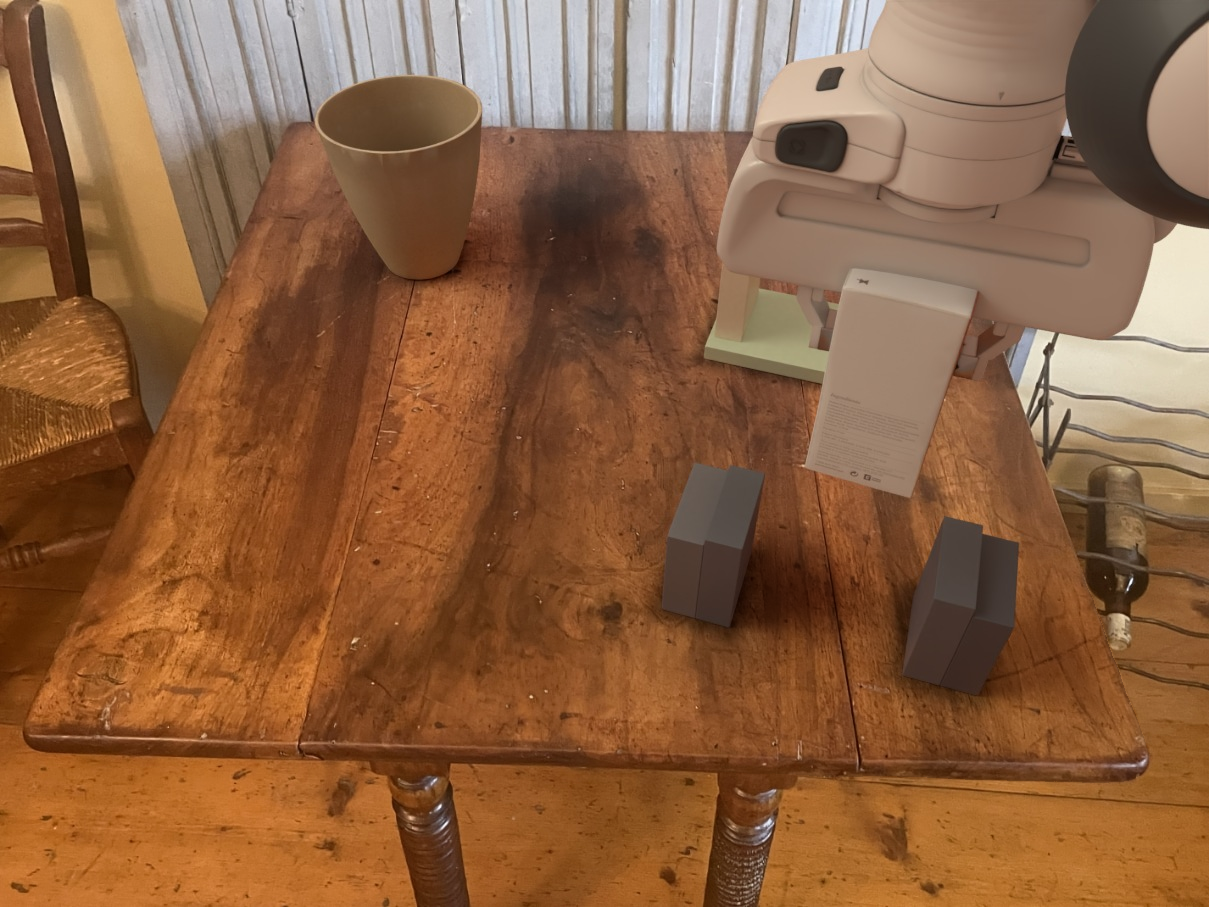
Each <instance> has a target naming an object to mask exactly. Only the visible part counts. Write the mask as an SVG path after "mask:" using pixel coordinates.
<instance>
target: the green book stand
mask: <svg viewBox="0 0 1209 907" xmlns="http://www.w3.org/2000/svg"><path fill="white" fill-rule="evenodd" d="M761 279H762V278H758V277H753V276H747V275H741V274H736V273H732V272H730V271H729V270H728V269H727V268H726V267H725V265H724V264H723V263H721V272H720V281H719V290H718V300H717V310H716V317H715V321H714V322H713V326H712V328H711V330H710V333H709V335H708V338H707V340H706V343H705V345H704V351H703V352H704V353H703V359H704V360H710V361H714V362H718V363H719V362H720V363H723V364H728V365H732V366H736V367H741V368H742V367H743V368H746V369H750V370H754V371H755V370H756V371H759V372H764V373H769V374H774V375H779V376H783V377H788V378H793V379H797V380H802V381H807V382H812V383H816V384H821V385H823V379H824V374H825V369H826V364H827V359H828V354H829V351H824V350H818V349H814V348H809V341H810V335H811V330H812V325H810V324H809V322H808V320H807V318H806V316H805V314H804V312H803V310H802V309H801V307H800V305H799V303H798V301H797V299H796V295H797V294H791V293H785V292H781V291H777V290H776V291H775V290H771V289H770V290H769V289H765V288H760V286H761ZM827 303H828V305H829V307H830V309H834V310H838V306H839V303H836V302H831V301H827Z"/></svg>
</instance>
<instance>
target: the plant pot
mask: <svg viewBox="0 0 1209 907" xmlns="http://www.w3.org/2000/svg"><path fill="white" fill-rule="evenodd" d="M314 124H315V128H316V130H317V133H318V135H319V138H320V141H321V143H322V147H323V149H324V151H325V154H326V156H327V159H328V161H329V164H330V166H331V168H332V172H333V174H334V176H335V178H336V180H337V183H338V185H339V187H340V189H341V191H342V193H343V195H344V197H345V199H346V202H347V204H348V205H349V207H350V209H351V211H352V213H353V214H354V216H355V218H356V220H357V222H358V224H359V225H360V227H361V229H362V230H363V232H364V234H365V236H366V237H367V239H368V241H369V242H370V243H371V245H372V247H373V248H374V250H375V252H377V254H378V256H379V257H380V258H381V260H382V261H383V263H384V264H385V266H386V267H387V268H388V270H389V271H390V272H391V273H392V274H394V275H396V276H398V277H400V278H404V279H407V280H408V279H409V280H417V281H418V280H430V279H435V278H438V277H441V276H442V275H445V274H446V273H448V272H450V271H451V270H452V269H454V267H455V266H456V265H457V264H458V262H459V260H460V257H461V255H462V254H461V253H462V250H463V247H464V244H465V241H466V236H467V234H468V229H469V225H470V221H471V216H472V212H473V207H474V202H475V196H476V190H477V184H478V175H479V168H480V157H481V156H480V155H481V145H482V143H481V142H482V125H483V103H482V101H481V99H480V97H479V95H477V94H476V92H475V91H473V90H472V89H471V88H469V87H468V86H467V85H465V84H464V83H463V84H462V83H460V82H458V81H456V80H453V79H448V78H445V77H440V76H435V75H434V76H433V75H425V74H396V75H395V74H394V75H387V76H381V77H375V78H371V79H367V80H366V79H365V80H362V81H360V82H357V83H354V84H352V85H349V86H346V87H344V88H342V89H340V90H339V91H336V92H335V93H333V94H332V95H331V96H329V97H327V98H326V100H324V101H323V102H322V103H321V105H320V106H319V107H318V109H317V111H316V113H315V116H314Z"/></svg>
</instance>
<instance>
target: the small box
mask: <svg viewBox="0 0 1209 907" xmlns="http://www.w3.org/2000/svg"><path fill="white" fill-rule="evenodd" d="M978 296H979V291H978V290H975V289H971V288H966V287H962V286H957V285H952V284H947V283H942V282H937V281H932V280H927V279H922V278H917V277H911V276H905V275H899V274H893V273H887V272H880V271H873V270H866V269H857V268H853V269H850V271H849V273H848V275H847V278H846V280H845V283H844V285H843V288H842V292H841V293H840V297H839V302H838V304H839V306H838V311H837V316H836V321H835V326H834V330H833V335H832V340H831V344H830V349H829V354H828V359H827V364H826V369H825V374H824V379H823V384H821V389H820V396H819V400H818V405H817V410H816V415H815V420H814V423H813V427H812V432H811V436H810V437H811V438H810V442H809V445H808V451H807V454H806V460H805V463H804V467H805V468H806V469H807V470H810V471H812V472H817V473H819V474H823V475H827V476H830V477H833V478H837V479H840V480H844V481H847V482H851V483H854V484H857V485H860V486H863V487H867V488H871V489H874V490H878V491H883V492H884V493H885V492H886V493H889V494H893V495H895V496H899V497H904V498H907V499H912V498H913V496H914V493H915V490H916V487H917V485H918V482H919V479H920V475H921V473H922V470H923V466H924V464H925V460H926V457H927V454H928V450H929V448H930V446H931V441H932V438H933V436H934V432H935V430H936V426H937V423H938V420H939V417H940V414H941V411H942V408H943V406H944V402H945V400H946V396H947V393H948V390H949V388H950V384H951V382H952V379H953V377H954V376H953V373H954V370H955V367H956V364H957V361H958V358H959V355H960V352H961V349H962V346H963V343H964V340H965V337H966V335H968V331H969V329H970V326H971V323H972V319H973V318H974V317H973V314H974V311H975V307H976V304H977V300H978Z"/></svg>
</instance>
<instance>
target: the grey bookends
mask: <svg viewBox="0 0 1209 907" xmlns="http://www.w3.org/2000/svg"><path fill="white" fill-rule="evenodd" d="M765 478H766V472H761V471H758V470H753V469H749V468H745V467H742V466H741V467H740V466H737V465H732V464H730V465H729V467H728V469H724V468H720V467H716V466H712V465H709V464H708V465H707V464H703V463H699V462H693V466H692V468H691V471H690V473H689V476H688V478H687V481H686V484H685V487H684V489H683V492H682V495H681V497H680V500H679V503H678V506H677V508H676V511H675V514H674V516H673V519H672V521H671V524H670V526H669V527H670V528H669V530H668V533H667V537H666V546H665V547H666V548H665V549H666V550H665V560H664V574H663V588H662V598H661V600H662V601H661V610H663V611H667V612H671V613H674V614H678V615H680V616H681V615H682V616H684V617H688V618H693V619H696V620H700V621H703V622H707V623H711V624H715V625H718V626H721V627H724V628H728V629H729V628H731V624H732V620H733V617H734V614H735V610H736V607H737V603H738V600H739V597H740V594H741V591H742V586H743V583H744V579H745V577H746V573H747V570H748V566H749V563H750V560H751V556H752V550H753V545H754V540H755V535H756V530H757V529H756V528H757V523H758V517H759V513H760V512H759V511H760V506H761V501H762V495H763V488H764V483H765ZM983 532H984V525H983V524H980V523H977V522H972V521H967V520H963V519H959V518H955V517H951V516H947V515H944V517H943V518H942V521H941V524H940V526H939V529H938V532H937V534H936V536H935V539H934V542H933V544H932V547H931V548H930V549H931V550H930V552H929V555H928V557H927V560H926V562H925V565H924V568H923V570H922V572H921V574H920V578H919V580H918V583H917V585H916V588H915V590H914V593H913V597H912V604H911V609H910V611H911V612H910V617H909V623H908V630H907V636H906V645H905V651H904V657H903V658H904V659H903V666H902V673H901V676H903V677H907V678H910V679H914V680H917V681H921V682H924V683H927V684H932V685H936V686H940V687H943V688H946V689H950V690H953V691H957V692H962V693H966V694H969V695H971V696H975V697H976V696H977V697H978V696H979V695H980V692H981V691H982V689H983V687H984V685H985V683H986V681H987V679H988V677H989V676H990V674H991V672H992V670H993V668H994V666H995V664H996V663H997V661H998V659H999V657H1000V656H1001V653H1002V651H1003V650H1004V648H1005V646H1006V644H1007V642H1008V640H1009V638H1010V637H1011V635H1012V633H1013V631H1014V629H1015V624H1016V606H1017V587H1018V570H1019V569H1018V568H1019V553H1020V542H1019V541H1014V540H1011V539H1007V538H1003V537H997V536H993V535H989V534H987V533H986V534H985V533H983Z"/></svg>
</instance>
